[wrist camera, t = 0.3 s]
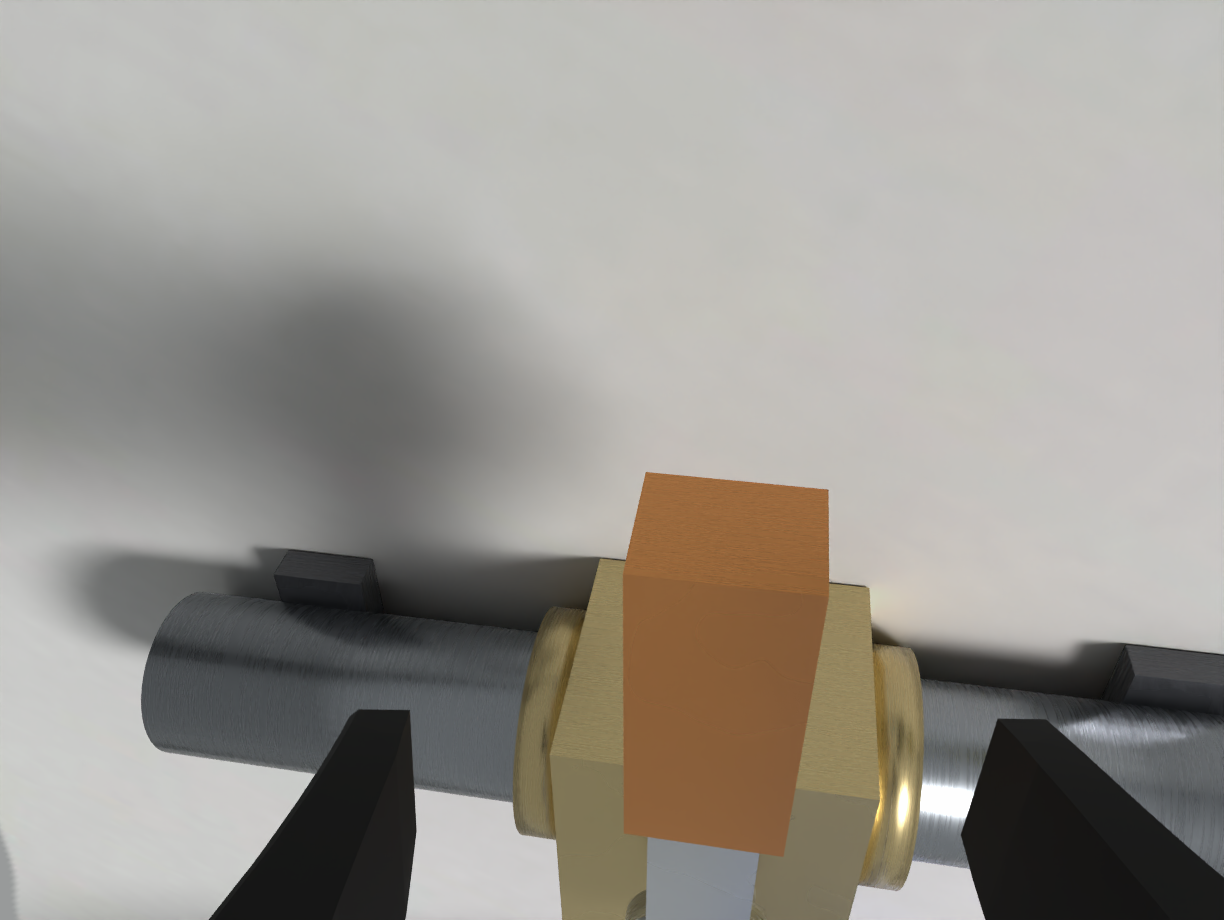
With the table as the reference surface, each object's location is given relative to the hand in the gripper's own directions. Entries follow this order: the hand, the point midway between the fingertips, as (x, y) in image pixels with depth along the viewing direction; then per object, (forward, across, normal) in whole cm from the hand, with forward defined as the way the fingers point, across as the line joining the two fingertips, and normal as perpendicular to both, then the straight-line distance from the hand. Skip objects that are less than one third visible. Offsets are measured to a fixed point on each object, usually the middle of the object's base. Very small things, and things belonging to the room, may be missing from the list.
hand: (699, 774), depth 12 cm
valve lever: (+3, -1, +2) cm, 4 cm away
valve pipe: (+9, -2, +6) cm, 10 cm away
